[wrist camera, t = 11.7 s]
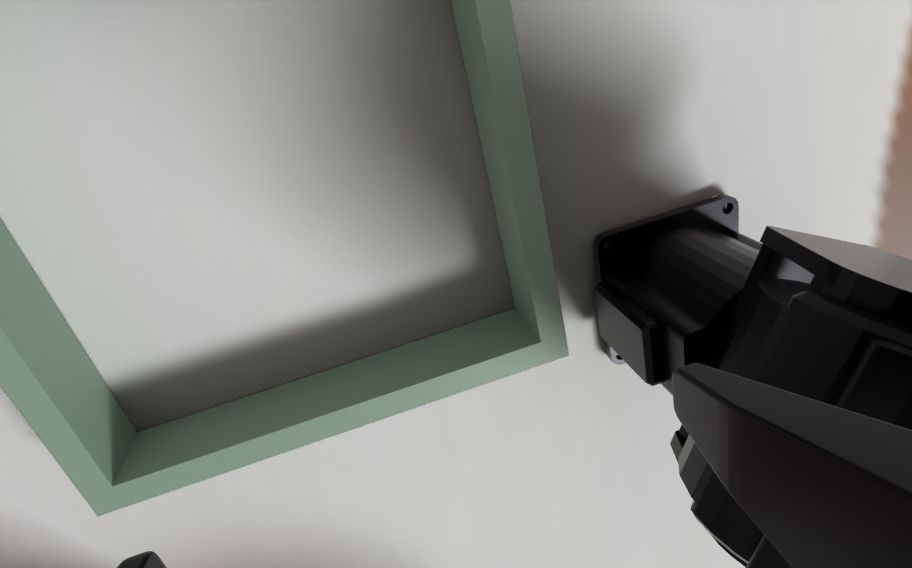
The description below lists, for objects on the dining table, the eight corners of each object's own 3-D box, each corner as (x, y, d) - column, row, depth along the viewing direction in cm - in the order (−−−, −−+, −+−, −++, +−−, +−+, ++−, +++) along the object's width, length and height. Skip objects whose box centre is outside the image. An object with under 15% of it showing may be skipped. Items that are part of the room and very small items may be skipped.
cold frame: (443, -194, 16) (469, -241, 14) (540, 320, 24) (569, 355, 21) (-218, -50, 14) (-341, -71, 12) (124, 458, 22) (97, 516, 19)
